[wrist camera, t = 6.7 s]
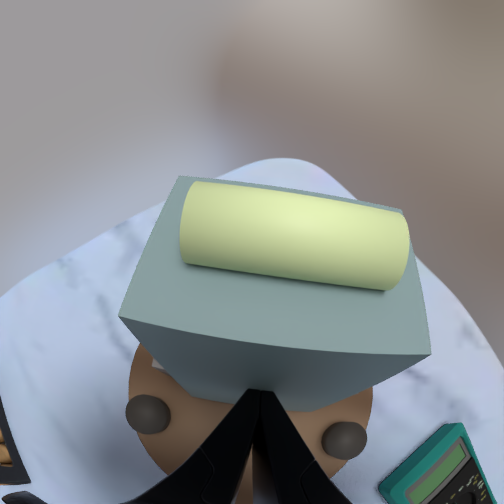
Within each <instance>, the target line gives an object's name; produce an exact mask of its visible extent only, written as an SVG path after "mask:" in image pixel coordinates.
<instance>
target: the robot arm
mask: <svg viewBox="0 0 504 504" xmlns="http://www.w3.org/2000/svg"><path fill="white" fill-rule="evenodd" d="M251 448H252V481H253V504H352V503H351V502H350V501H349V500H348V499H347V498H346V497H345V495H344V494H343V493H342V492H341V491H340V490H339V489H338V488H337V487H336V486H335V484H334V483H333V482H332V481H331V480H330V479H329V477H328V476H327V474H326V473H325V472H324V470H323V469H322V468H321V466H320V464H319V463H318V461H317V460H315V457H314V455H313V454H312V452H311V451H310V449H309V448H308V446H307V445H306V443H305V441H304V440H303V438H302V437H301V435H300V434H299V432H298V430H297V429H296V427H295V426H294V424H293V422H292V421H291V419H290V418H289V416H288V414H287V413H286V411H285V409H284V408H283V406H282V404H281V403H280V401H279V399H278V398H277V396H276V394H275V393H274V391H266V390H261V391H260V390H258V389H250V388H248V389H247V390H246V391H245V392H244V393H243V395H242V396H241V397H240V398H239V400H238V401H237V402H236V403H235V405H234V406H233V407H232V408H231V410H230V411H229V412H228V413H227V414H226V416H225V417H224V418H223V419H222V420H221V422H220V423H219V424H218V425H217V426H216V428H215V429H214V430H213V431H212V432H211V433H210V435H209V436H208V437H207V438H206V439H205V440H204V441H203V443H202V444H201V445H200V446H199V448H197V449H196V450H195V451H194V452H193V454H192V455H191V456H190V457H189V458H188V459H187V460H186V461H185V462H184V463H183V464H182V465H180V466H179V467H178V468H177V469H176V470H174V471H173V472H172V473H171V474H169V475H168V476H167V477H165V478H164V479H163V480H161V481H160V482H159V483H157V484H156V485H154V486H153V487H152V488H150V489H149V490H147V491H146V492H145V493H143V494H141V495H140V496H138V497H136V498H135V499H133V500H130V501H128V502H124V503H120V504H235V501H236V498H237V495H238V492H239V488H240V485H241V482H242V479H243V476H244V472H245V469H246V466H247V462H248V459H249V455H250V452H251ZM2 500H3V501H4V502H5V503H6V504H47V503H46V502H44V501H42V500H41V499H39V498H38V497H36V496H35V495H33V494H31V493H30V492H27V491H21V492H15V493H10V494H8V495H6V496H4V497H2Z"/></svg>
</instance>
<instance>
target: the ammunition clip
mask: <svg viewBox="0 0 504 504" xmlns="http://www.w3.org/2000/svg"><path fill="white" fill-rule="evenodd" d="M0 463H1V464H0V485H21V484H28V483H30V482H31V480H30V478H29V476H28V474H27V472H26V469H25V467H24V465H23V463H22V460H21V458H20V455H19V453H18V450H17V448H16V445H15V442H14V440H13V437H12V434H11V431H10V428H9V425H8V422H7V419H6V415H5V412H4V408H3V405H2V401H1V397H0Z"/></svg>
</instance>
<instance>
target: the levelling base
mask: <svg viewBox="0 0 504 504" xmlns="http://www.w3.org/2000/svg"><path fill="white" fill-rule="evenodd" d="M372 399H373V388H372V387H370V388H368V389H366V390H363V391H361V392H359V393H357V394H354V395H352V396H350V397H348V398H345V399H343V400H340V401H338V402H336V403H333V404H331V405H328V406H325V407H323V408H320V409H318V410H315V411H312V412H301V411H287V410H285V411H286V413H287V414H288V416H289V418H290V419H291V421H292V422H293V424H294V426H295V427H296V429H297V430H298V432H299V434H300V435H301V437H302V438H303V440H304V441H305V443H306V445H307V446H308V448H309V449H310V451H311V452H312V454H313V455H314V457H315V460H317V461H318V463H319V464H320V466H321V468H322V469H323V470H324V472H325V473H326V474H327V476H328V477H329V479H330V478H331V477H332V476H334V475H335V474H336V473H337V472H338V471H339V470H340V469H341V468H342V467H343V466H344V465H345V464H346V462H347V461H348V460H349V459H352V458H354V457H356V456H358V455H359V454H360V453H361V452H362V451H363V449H364V448H365V445H366V442H367V434H366V431H365V430H366V428H367V424H368V421H369V417H370V413H371V407H372ZM234 405H235V404H230V403H223V402H218V401H212V400H207V399H202V398H197V397H192V396H191V395H190V394H189V393H188V392H187V391H186V390H185V389H184V388H183V387H182V386H181V385H179V384H178V383H177V382H176V381H175V379H174V378H173V377H172V376H171V375H170V374H169V373H168V372H167V371H166V370H165V369H164V368H163V367H162V366H161V365H160V364H159V363H158V362H157V361H156V360H155V359H154V357H153V356H152V355H151V354H150V353H149V352H148V351H147V350H146V349H145V347H144V346H143V345H142V344H141V343H140V344H139V346H138V348H137V350H136V353H135V356H134V359H133V362H132V366H131V371H130V377H129V402H128V404H127V406H126V418H127V421H128V423H129V424H130V426H131V427H132V428H133V429H134V430H136V431H137V434H138V436H139V438H140V440H141V442H142V444H143V446H144V447H145V449H146V451H147V452H148V454H149V455H150V456H151V458H152V459H153V460H154V461H155V463H156V464H157V465H158V466H159V467H160V468H161V469H162V470H163V471H164V472H165V473H166V474H167V475H169V474H171V473H172V472H173V471H174V470H176V469H177V468H178V467H179V466H180V465H182V464H183V463H184V462H185V461H186V460H187V459H188V458H189V457H190V456H191V455H192V454H193V452H194V451H195V450H196V449H197V448H199V446H200V445H201V444H202V443H203V441H204V440H205V439H206V438H207V437H208V436H209V435H210V433H211V432H212V431H213V430H214V429H215V428H216V426H217V425H218V424H219V423H220V422H221V420H222V419H223V418H224V417H225V416H226V414H227V413H228V412H229V411H230V410H231V408H232V407H233V406H234ZM235 504H253V481H252V448H251V452H250V455H249V459H248V462H247V466H246V469H245V472H244V476H243V479H242V482H241V485H240V488H239V492H238V495H237V498H236V501H235Z"/></svg>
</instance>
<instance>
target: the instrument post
mask: <svg viewBox="0 0 504 504" xmlns="http://www.w3.org/2000/svg"><path fill="white" fill-rule="evenodd" d="M118 317H119V318H120V319H121V320H122V322H123V323H124V324H125V325H126V326H127V328H128V329H129V330H130V331H131V332H132V334H133V335H134V336H135V337H136V338H137V339H138V341H139V342H140V343H141V344H142V345H143V346H144V347H145V349H146V350H147V351H148V352H149V353H150V354H151V355H152V356H153V357H154V359H155V360H156V361H157V362H158V363H159V364H160V365H161V366H162V367H163V368H164V369H165V370H166V371H167V372H168V373H169V374H170V375H171V376H172V377H173V378H174V379H175V381H176V382H177V383H178V384H179V385H181V386H182V387H183V388H184V389H185V390H186V391H187V392H188V393H189V394H190V395H191V396H192V397H197V398H202V399H207V400H212V401H218V402H223V403H230V404H235V403H236V402H237V401H238V400H239V398H240V397H241V396H242V395H243V393H244V392H245V391H246V390H247V389H248V388H250V389H258V390H260V391H261V390H266V391H274V393H275V394H276V396H277V398H278V399H279V401H280V403H281V404H282V406H283V408H284V409H285V410H287V411H301V412H312V411H315V410H318V409H320V408H323V407H325V406H328V405H331V404H333V403H336V402H338V401H340V400H343V399H345V398H348V397H350V396H352V395H354V394H357V393H359V392H361V391H363V390H366V389H368V388H370V387H372V386H374V385H376V384H378V383H380V382H382V381H384V380H386V379H388V378H390V377H392V376H394V375H396V374H398V373H400V372H402V371H403V370H405V369H407V368H409V367H411V366H412V365H414V364H416V363H418V362H419V361H421V360H423V359H425V358H426V357H428V356H430V355H431V345H430V337H429V329H428V322H427V315H426V309H425V303H424V298H423V292H422V287H421V282H420V278H419V273H418V268H417V264H416V260H415V256H414V252H413V248H412V244H411V240H410V237H409V231H408V226H407V223H406V220H405V218H404V216H403V213H402V210H401V209H396V208H392V207H387V206H383V205H378V204H373V203H368V202H363V201H358V200H353V199H348V198H343V197H337V196H332V195H326V194H320V193H314V192H308V191H302V190H296V189H289V188H283V187H276V186H268V185H261V184H253V183H245V182H237V181H228V180H219V179H210V178H199V177H188V176H179V177H178V179H177V181H176V183H175V185H174V187H173V189H172V191H171V193H170V195H169V197H168V199H167V201H166V203H165V205H164V207H163V209H162V211H161V213H160V215H159V217H158V219H157V221H156V224H155V226H154V228H153V230H152V232H151V235H150V237H149V239H148V241H147V244H146V246H145V248H144V250H143V253H142V255H141V258H140V260H139V262H138V265H137V267H136V270H135V272H134V274H133V277H132V279H131V282H130V284H129V287H128V290H127V292H126V295H125V297H124V300H123V303H122V306H121V308H120V311H119V314H118Z"/></svg>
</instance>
